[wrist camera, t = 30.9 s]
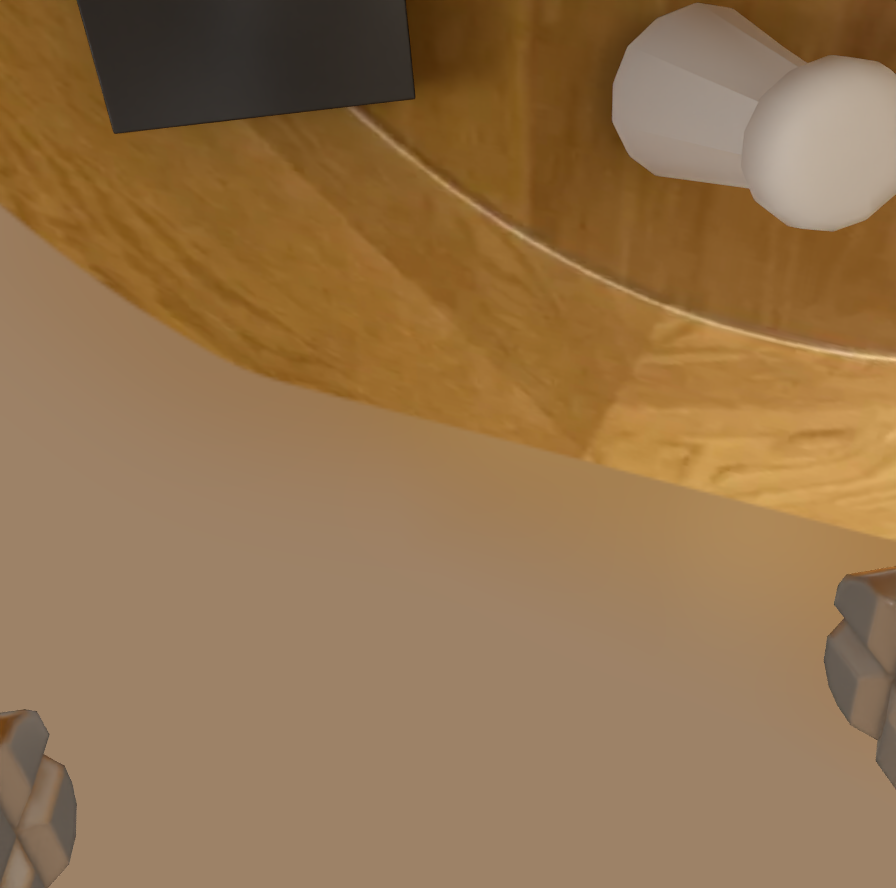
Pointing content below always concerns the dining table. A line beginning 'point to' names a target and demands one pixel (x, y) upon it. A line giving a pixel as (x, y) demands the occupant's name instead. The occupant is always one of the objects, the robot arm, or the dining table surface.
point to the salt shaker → (758, 117)
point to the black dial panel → (244, 58)
